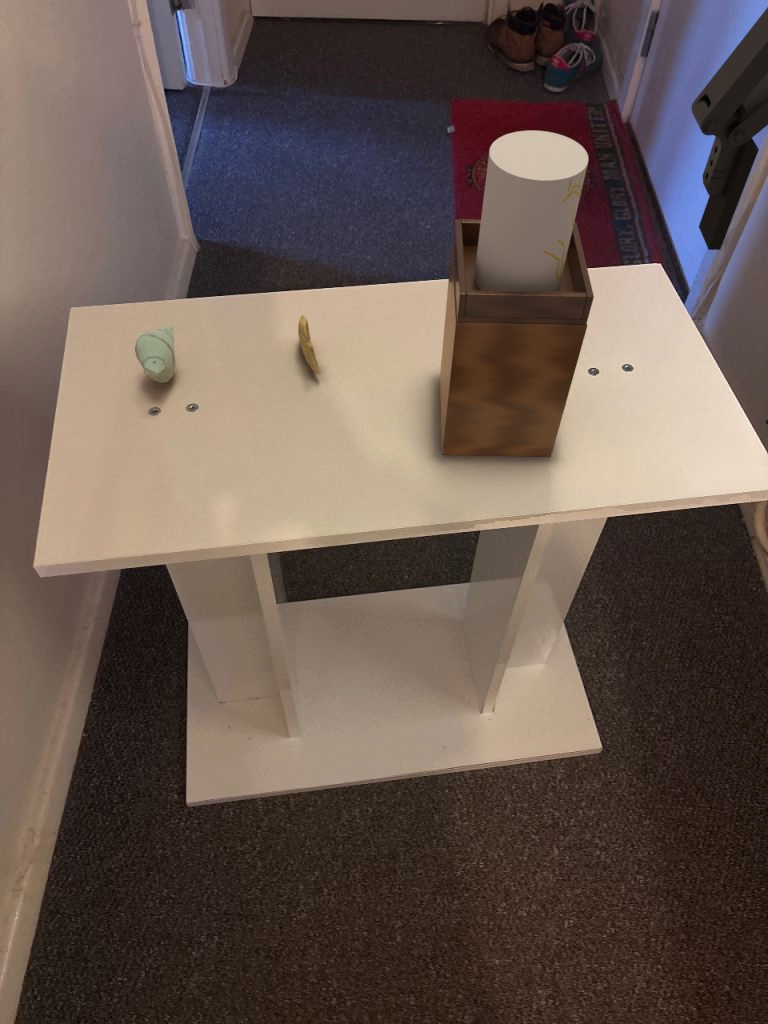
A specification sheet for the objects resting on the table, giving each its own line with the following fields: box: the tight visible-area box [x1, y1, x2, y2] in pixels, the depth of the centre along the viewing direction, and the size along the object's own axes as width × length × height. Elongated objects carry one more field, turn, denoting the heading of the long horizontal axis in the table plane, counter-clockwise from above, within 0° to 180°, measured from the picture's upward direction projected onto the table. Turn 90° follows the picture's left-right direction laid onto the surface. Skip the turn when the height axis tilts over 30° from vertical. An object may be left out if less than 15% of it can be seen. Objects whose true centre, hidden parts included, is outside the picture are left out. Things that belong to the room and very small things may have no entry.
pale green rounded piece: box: [134, 326, 176, 384], centre depth 87 cm, size 8×4×7 cm, turn 177°
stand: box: [439, 246, 588, 458], centre depth 79 cm, size 12×12×18 cm
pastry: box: [297, 315, 321, 377], centre depth 90 cm, size 9×2×5 cm, turn 16°
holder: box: [452, 218, 595, 325], centre depth 71 cm, size 12×12×3 cm
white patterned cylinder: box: [474, 130, 589, 292], centre depth 67 cm, size 8×8×12 cm
